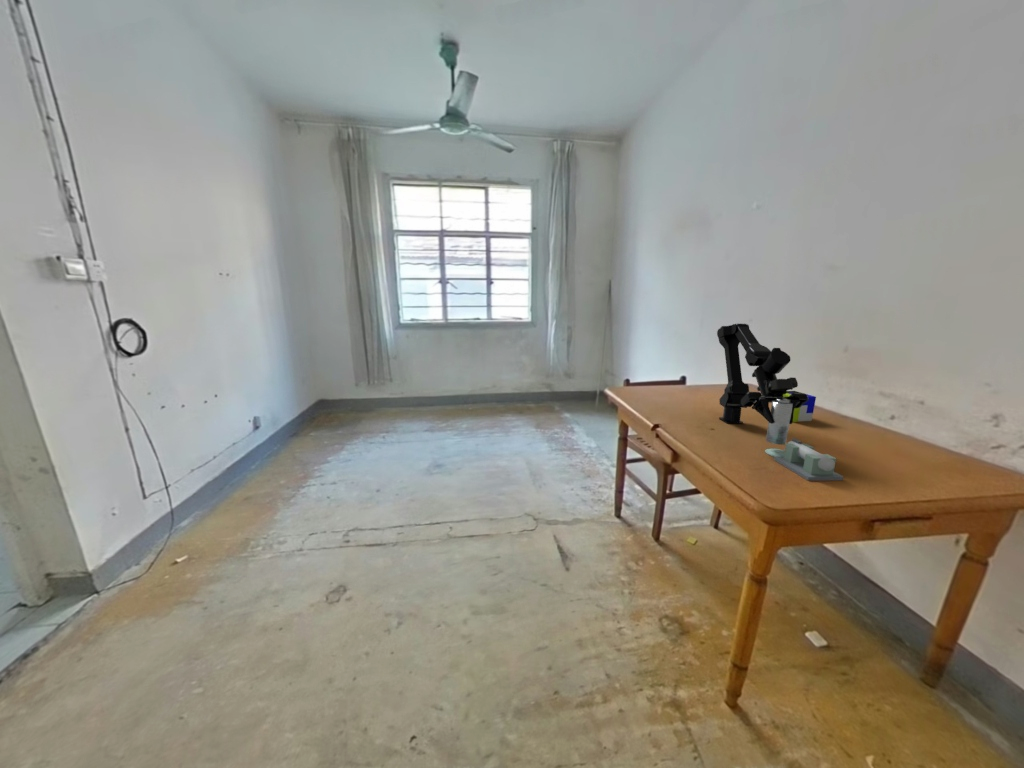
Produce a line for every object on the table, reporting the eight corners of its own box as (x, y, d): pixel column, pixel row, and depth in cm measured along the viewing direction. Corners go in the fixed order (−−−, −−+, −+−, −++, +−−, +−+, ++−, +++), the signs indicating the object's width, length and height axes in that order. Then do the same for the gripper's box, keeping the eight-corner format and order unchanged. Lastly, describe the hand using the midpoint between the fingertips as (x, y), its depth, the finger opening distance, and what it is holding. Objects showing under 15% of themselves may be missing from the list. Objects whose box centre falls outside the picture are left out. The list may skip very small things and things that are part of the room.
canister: (765, 437, 136) (771, 396, 133) (784, 440, 134) (792, 398, 130) (766, 442, 131) (773, 400, 128) (787, 445, 129) (794, 402, 126)
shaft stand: (773, 459, 126) (777, 438, 124) (805, 459, 126) (809, 438, 124) (807, 480, 112) (812, 456, 110) (843, 480, 112) (848, 456, 111)
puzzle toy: (811, 420, 165) (816, 396, 163) (790, 422, 163) (795, 397, 160) (790, 413, 174) (794, 390, 172) (770, 414, 172) (774, 391, 170)
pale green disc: (759, 449, 134) (759, 448, 134) (783, 449, 134) (783, 448, 134) (775, 459, 126) (775, 458, 126) (801, 458, 127) (801, 458, 126)
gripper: (750, 367, 131) (764, 410, 123) (810, 368, 131) (828, 412, 122) (735, 385, 141) (746, 426, 133) (790, 387, 140) (806, 428, 132)
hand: (781, 423), depth 130 cm, fingers closed on canister, 5 cm apart
